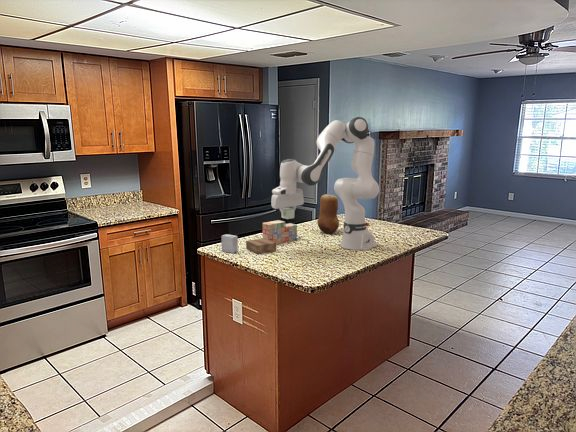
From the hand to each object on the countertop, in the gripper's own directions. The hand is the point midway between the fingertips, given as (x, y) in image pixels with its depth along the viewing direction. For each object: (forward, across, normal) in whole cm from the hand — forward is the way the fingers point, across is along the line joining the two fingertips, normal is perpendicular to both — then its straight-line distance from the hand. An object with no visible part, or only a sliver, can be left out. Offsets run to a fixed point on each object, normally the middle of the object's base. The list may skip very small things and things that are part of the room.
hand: (287, 214), depth 228 cm
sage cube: (+2, 0, 0) cm, 2 cm away
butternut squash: (+20, -46, -15) cm, 52 cm away
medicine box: (+20, +27, -16) cm, 37 cm away
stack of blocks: (+20, -8, -17) cm, 27 cm away
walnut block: (+20, +12, -8) cm, 25 cm away
